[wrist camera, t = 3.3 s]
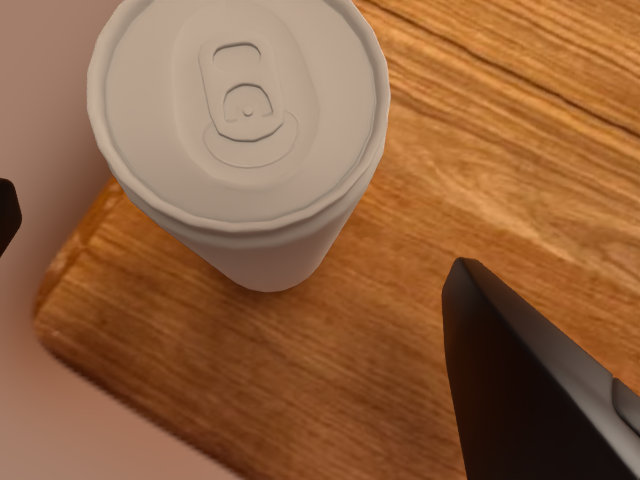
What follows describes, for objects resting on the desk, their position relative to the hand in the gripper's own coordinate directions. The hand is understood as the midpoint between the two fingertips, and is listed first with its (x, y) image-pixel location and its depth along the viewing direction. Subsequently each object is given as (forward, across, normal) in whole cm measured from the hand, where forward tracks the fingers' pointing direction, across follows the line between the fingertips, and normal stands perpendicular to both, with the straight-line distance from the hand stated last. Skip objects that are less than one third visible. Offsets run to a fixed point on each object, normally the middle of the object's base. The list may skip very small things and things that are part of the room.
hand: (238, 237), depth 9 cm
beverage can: (+8, 0, +5) cm, 10 cm away
